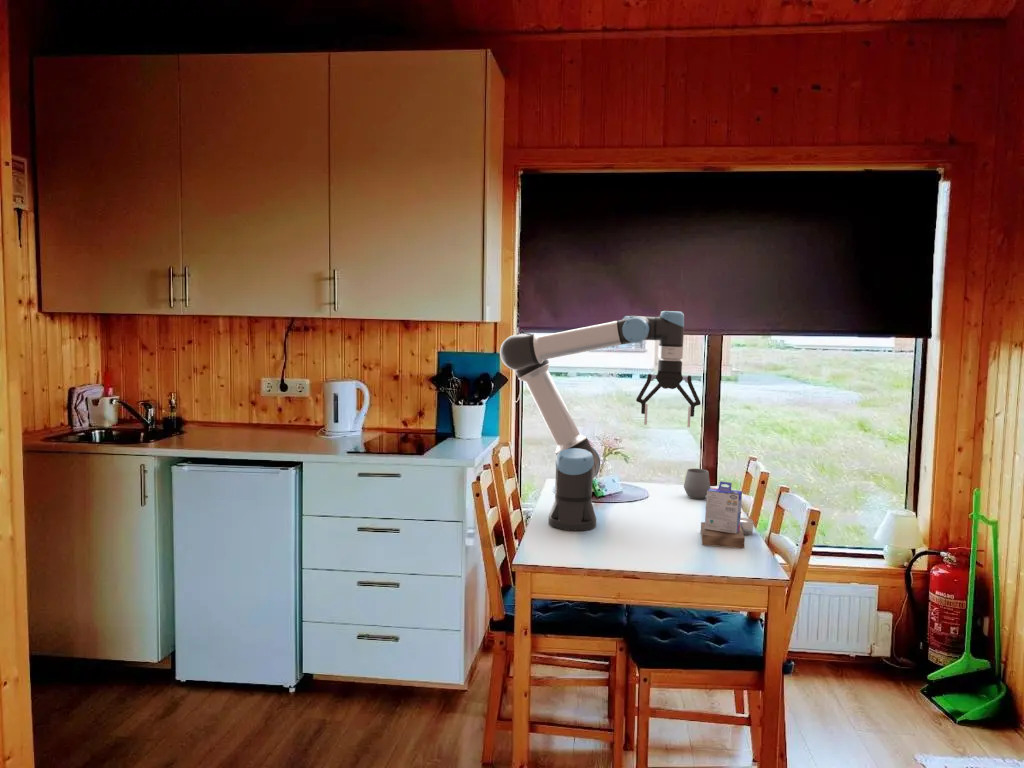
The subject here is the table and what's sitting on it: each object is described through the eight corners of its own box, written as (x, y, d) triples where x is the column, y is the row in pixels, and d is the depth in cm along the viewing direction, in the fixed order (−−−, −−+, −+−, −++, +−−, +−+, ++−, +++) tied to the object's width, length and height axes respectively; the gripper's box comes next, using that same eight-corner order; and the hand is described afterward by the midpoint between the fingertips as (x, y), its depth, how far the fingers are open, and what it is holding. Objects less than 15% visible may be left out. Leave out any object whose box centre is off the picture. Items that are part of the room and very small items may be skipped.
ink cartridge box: (740, 530, 244) (743, 483, 242) (737, 534, 239) (740, 487, 237) (707, 525, 248) (710, 479, 246) (704, 529, 243) (706, 482, 241)
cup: (678, 494, 298) (680, 468, 297) (700, 493, 301) (702, 467, 300) (691, 501, 290) (693, 474, 288) (714, 499, 292) (716, 473, 291)
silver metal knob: (733, 534, 250) (734, 522, 249) (732, 529, 255) (732, 516, 255) (753, 536, 248) (754, 523, 248) (751, 530, 254) (752, 518, 254)
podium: (702, 544, 238) (702, 534, 238) (700, 531, 252) (701, 522, 251) (744, 548, 236) (744, 538, 235) (740, 534, 249) (740, 525, 249)
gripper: (630, 358, 255) (627, 424, 257) (711, 362, 250) (707, 429, 252) (631, 357, 262) (628, 421, 264) (709, 360, 257) (706, 425, 259)
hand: (666, 425), depth 258 cm, fingers open, 13 cm apart
